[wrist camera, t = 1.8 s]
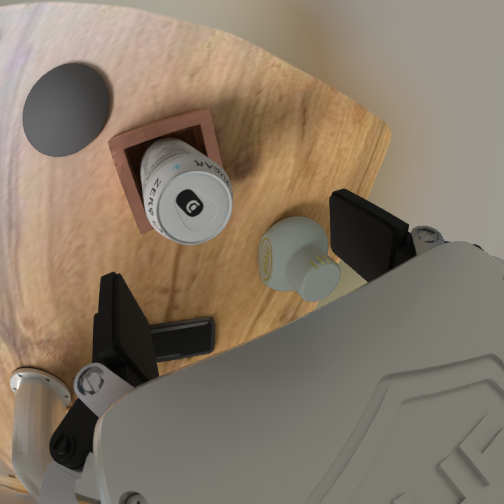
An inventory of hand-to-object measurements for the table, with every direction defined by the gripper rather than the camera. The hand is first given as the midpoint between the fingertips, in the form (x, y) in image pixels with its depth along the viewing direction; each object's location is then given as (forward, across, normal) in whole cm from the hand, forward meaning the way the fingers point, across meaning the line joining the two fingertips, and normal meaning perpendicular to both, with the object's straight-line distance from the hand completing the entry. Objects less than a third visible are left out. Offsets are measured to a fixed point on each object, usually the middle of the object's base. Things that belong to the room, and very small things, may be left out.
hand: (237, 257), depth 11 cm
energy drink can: (+22, +1, 0) cm, 22 cm away
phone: (+22, +10, +25) cm, 35 cm away
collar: (+22, +1, 0) cm, 22 cm away
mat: (+22, +10, -10) cm, 25 cm away
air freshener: (+22, -11, +16) cm, 30 cm away
